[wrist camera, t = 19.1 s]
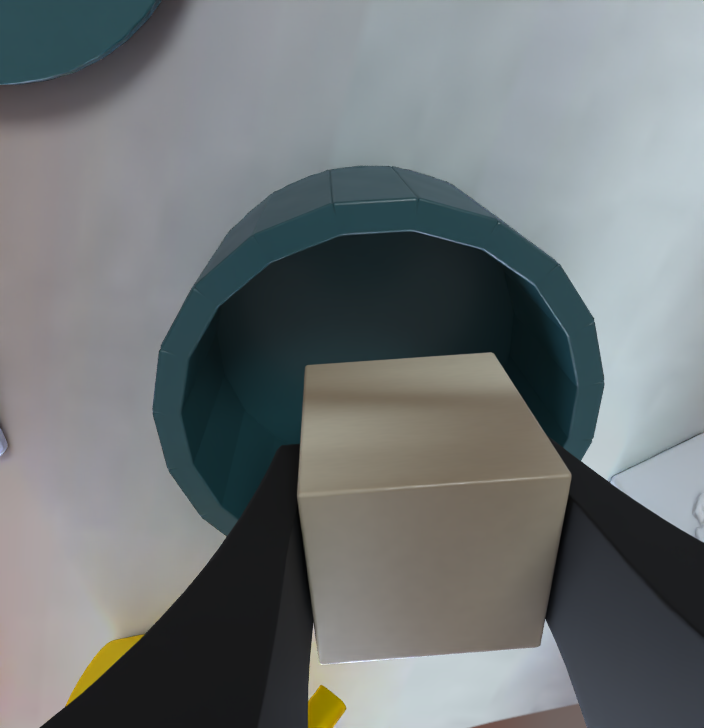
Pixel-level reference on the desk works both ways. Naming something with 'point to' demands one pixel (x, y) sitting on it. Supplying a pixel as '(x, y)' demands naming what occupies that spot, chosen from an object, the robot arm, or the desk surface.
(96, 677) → the figure statuette
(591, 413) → the tin
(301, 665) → the robot arm
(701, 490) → the jar
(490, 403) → the block
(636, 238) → the desk surface
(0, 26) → the lid
